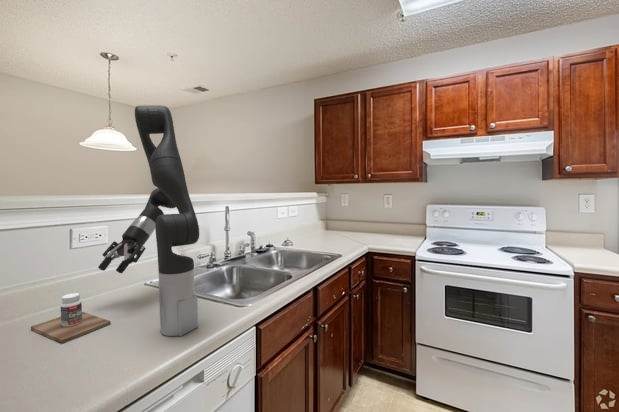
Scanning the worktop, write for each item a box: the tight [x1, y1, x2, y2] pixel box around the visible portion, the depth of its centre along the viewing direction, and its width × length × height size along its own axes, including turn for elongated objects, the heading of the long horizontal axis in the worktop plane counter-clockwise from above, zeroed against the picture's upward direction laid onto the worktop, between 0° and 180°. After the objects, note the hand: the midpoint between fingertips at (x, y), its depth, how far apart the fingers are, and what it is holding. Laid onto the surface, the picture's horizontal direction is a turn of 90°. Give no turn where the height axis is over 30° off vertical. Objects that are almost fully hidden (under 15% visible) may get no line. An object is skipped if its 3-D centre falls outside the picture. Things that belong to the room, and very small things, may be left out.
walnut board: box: [30, 311, 112, 344], centre depth 84 cm, size 17×12×1 cm
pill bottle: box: [60, 292, 83, 327], centre depth 84 cm, size 5×5×8 cm
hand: (109, 270), depth 94 cm, fingers open, 8 cm apart
